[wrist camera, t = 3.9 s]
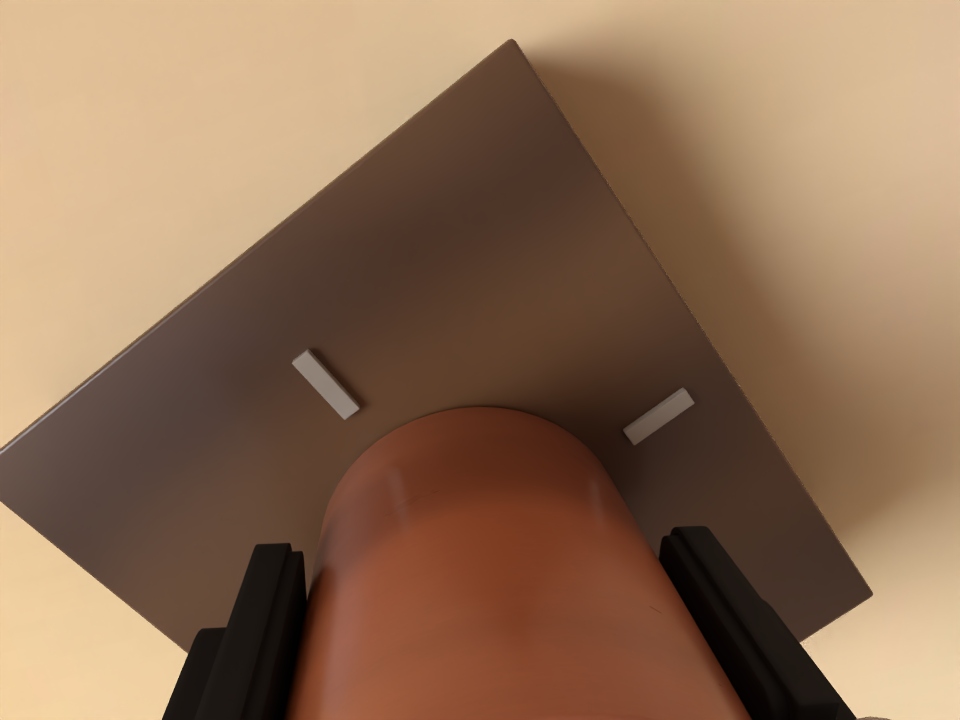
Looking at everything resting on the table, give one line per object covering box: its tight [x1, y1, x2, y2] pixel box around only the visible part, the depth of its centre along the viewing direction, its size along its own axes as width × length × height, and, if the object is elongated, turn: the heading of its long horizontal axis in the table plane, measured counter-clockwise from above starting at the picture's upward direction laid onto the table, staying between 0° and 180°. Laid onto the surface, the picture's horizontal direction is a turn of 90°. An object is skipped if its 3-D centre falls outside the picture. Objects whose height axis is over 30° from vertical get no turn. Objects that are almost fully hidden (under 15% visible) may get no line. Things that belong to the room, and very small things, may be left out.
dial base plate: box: [0, 39, 873, 653], centre depth 15 cm, size 14×12×3 cm
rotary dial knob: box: [283, 407, 752, 720], centre depth 10 cm, size 6×6×7 cm
